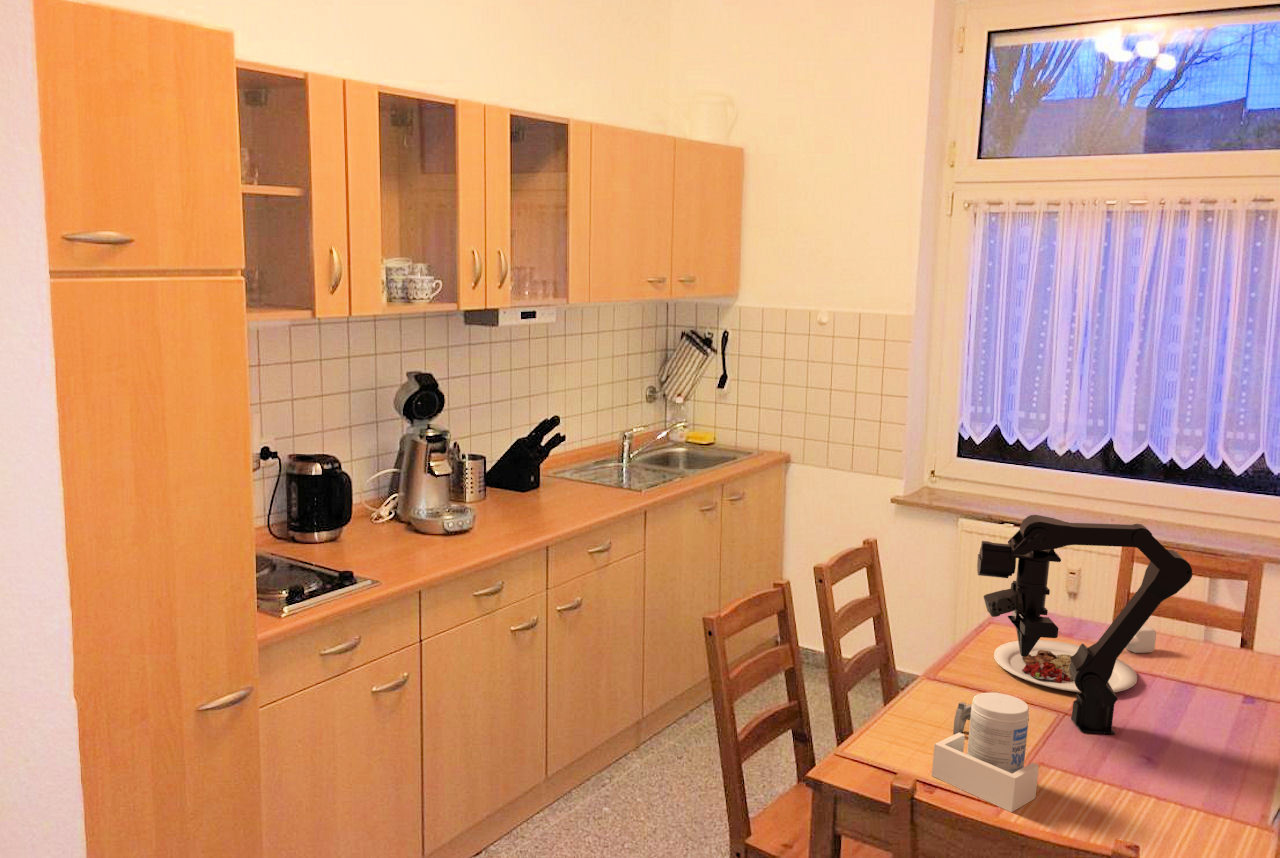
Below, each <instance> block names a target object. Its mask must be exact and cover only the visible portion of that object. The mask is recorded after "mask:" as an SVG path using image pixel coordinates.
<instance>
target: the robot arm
mask: <svg viewBox="0 0 1280 858" xmlns="http://www.w3.org/2000/svg"><path fill="white" fill-rule="evenodd" d="M980 544H981V545H980V548H979V554H978V553H977V566H976V568H977V569H976V571H977V572H976V573H977V575H978V576H981V577H992V578H1002V579H1008V578H1009V577H1012V575H1013V574H1015V573H1016V578H1015V579H1016V580H1012V582H1011V583H1010V588H1007V589H1001V590H998V591H993V592H991V593H986V594H984V595H983V600H984V604H985V607H986V611H987V613H989V615H990V616H991V617H992V618H995V617H996V618H997V617H1000V615H1001V616H1002V615H1003V614H1009V613H1011V615H1007V618H1008V619H1009V621H1010V622H1011V623H1012V624H1013V626H1014V627H1015V629H1016V630H1015V631H1016V635H1017V636H1016V637H1017V641H1018V642H1019V649H1020V654H1021V656H1022V657H1027V656H1028V654H1029V653H1030V652H1031V650H1032V649H1033V647H1034V646H1035V644H1036V643H1037V641H1038V640H1041V638H1045V639H1047V638H1048V639H1057V638H1058V636H1059V627H1058V626H1057V625H1056V624H1055V623H1054V621H1053V620H1052V619H1051V618H1050V617H1047V616H1048V612H1049V611H1048V609H1047V607H1045V606H1046V597H1047V596H1050V594H1051V593H1050V592H1051V591H1050V589H1049V588H1048V579H1049V570H1050V564H1051V563H1050V562H1053V563H1061V562H1062V559H1061V557H1060V556H1059V554H1058V553H1057V552H1056V551H1055V550H1057V549H1061V548H1064V547H1067V546H1093V547H1094V546H1095V547H1096V546H1097V547H1117V548H1118V547H1125V548H1129V547H1130V548H1137V549H1138V550H1139V551H1140V552H1141V553H1142V554H1143V555H1144V556H1145V557H1146V558H1147V559H1148V560H1149V563H1148V565H1147V567H1146V569H1145V570H1144V571H1145V572H1144V575H1143V579H1142V580H1141V581H1142V582H1141V585H1140V587H1139V588H1138V589H1137V590H1136V592H1135V593H1134V594H1133V596H1132V597H1131V599H1129V600H1128V602H1127V603H1126V604H1125V606H1124V607H1123V608H1122V610H1121V611H1120V613H1119V614H1118V615H1117V616H1116V618H1114V620H1113V622H1112V623H1111V624H1110V625H1109V626H1108V628H1107V629H1106V630H1105V632H1104V633H1103V634H1102V635H1101V636H1100V638H1099V639H1098V640H1097V641H1096V642H1095V643H1093V644H1092V645H1090V646H1088V647H1087V646H1086V645H1085V644H1084V643H1081V644H1079V646H1080V647H1079V649H1078V651H1077V652H1076V654H1075V655H1073V656H1072V657H1070V660H1071V663H1070V666H1069V671H1070V675H1071V677H1072V679H1073V681H1074V683H1075V685H1076V687H1077V688H1078V690H1080V691H1081V692H1076V699H1075V700H1074V701H1073V702H1072V703H1073V704H1072V712H1071V716H1070V720H1071V721H1072V723H1073V724H1074V725H1075V726H1076V728H1077V729H1078V730H1079V731H1080V732H1081V733H1088V734H1090V733H1091V734H1102V735H1115V733H1116V732H1115V730H1114V728H1112V727H1113V719H1114V718H1113V717H1114V709H1115V704H1116V702H1117V700H1118V697H1117V695H1116V692H1114V691H1113V689H1112V688H1111V686H1110V684H1109V682H1108V681H1109V679H1110V677H1111V675H1112V672H1113V669H1114V666H1115V662H1116V660H1117V659H1119V657H1120V655H1122V652H1124V650H1125V649H1126V646H1127V645H1128V644H1129V642H1130V641H1131V640H1132V639H1133V637H1134V636H1135V635H1136V634H1137V632H1138V631H1139V630H1140V629H1141V627H1142V626H1143V625H1145V623H1147V621H1148V619H1150V617H1151V616H1152V615H1153V614H1154V612H1155V611H1156V609H1157V608H1158V607H1159V606H1160V605H1161V604H1162V602H1164V601H1165V600H1167V599H1169V598H1171V597H1173V596H1174V595H1176V594H1177V593H1179V592H1180V591H1181V590H1182V589H1183V588H1184V587H1186V585H1188V583H1190V581H1191V579H1192V578H1193V569H1192V566H1191V564H1190V563H1189V562H1188V561H1187V560H1186V559H1185V558H1184V557H1183V556H1182V555H1181V554H1180V553H1178V552H1177V551H1175V550H1174V549H1173V550H1172V549H1167V548H1166V547H1164V545H1163V544H1161V542H1159V541H1158V539H1156V538H1155V537H1154V536H1153V533H1152V532H1151V531H1150V530H1149V528H1147V527H1146V526H1145V525H1143V524H1142V523H1141V524H1140V523H1134V524H1133V523H1132V524H1122V523H1121V524H1118V523H1091V522H1090V523H1086V522H1068V521H1064V520H1061V519H1057V518H1054V517H1050V516H1049V517H1048V516H1045V515H1039V514H1031V515H1029V516H1026V517H1025V518H1024V519H1023V520H1022V521H1021V523H1020V526H1019V530H1018V531H1017V532H1016V533H1014V534H1013V536H1012V537H1011V538H1010V539H1009V540H1008V541H1007V543H1001V542H991V541H987V540H982V541H981V543H980ZM1017 559H1018V560H1017ZM1016 563H1017V564H1016ZM1016 566H1017V571H1016Z"/></svg>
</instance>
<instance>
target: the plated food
mask: <svg viewBox="0 0 1280 858" xmlns="http://www.w3.org/2000/svg"><path fill="white" fill-rule="evenodd" d="M1079 647H1080V644H1079V645H1078V644H1074V643H1068V642H1061V641H1056V640H1041V639H1039V640H1038V641H1037V643H1036V644H1035V646H1034V647H1033V649H1032V650H1031V652H1030V653H1029V654H1028V656H1027V657H1022V656H1021V654H1020V649H1019V642H1018V640H1014V641H1009V642H1005V643H1004V644H1001V645H999V646H998V647H996V648H995V650H994V652H993V658H994V660H995V662H996V663H997V664H998V665H999V666H1000V667H1001V668H1002V669H1004V671H1007V672H1009V673H1010V674H1011V675H1014V676H1016V677H1018V678H1020V679H1022V680H1025V681H1028V682H1031V683H1034V684H1036V685H1040V686H1044V687H1048V688H1052V689H1057V690H1062V691H1069V692H1074V693H1075V692H1076V693H1082V692H1081V691H1080V690H1078V688H1077V687H1076V685H1075V683H1074V681H1073V679H1072V677H1071V675H1070V671H1069V666H1070V663H1071V660H1070V657H1072V656H1073V655H1075V654H1076V652H1077V651H1078V649H1079ZM1137 680H1138V675H1137V673H1136V671H1135V670H1134V669H1133V668H1132V666H1130V665H1129V664H1127V663H1126V662H1124V661H1123V660H1121V659H1120V658H1117V660H1116V662H1115V666H1114V669H1113V672H1112V675H1111V677H1110V679H1109V681H1108V682H1109V684H1110V686H1111V688H1112V689H1113V691H1114V693H1118V692H1122V691H1127V690H1128V689H1131V688H1132V687H1134V686H1135V685H1136V683H1138V682H1137Z"/></svg>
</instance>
